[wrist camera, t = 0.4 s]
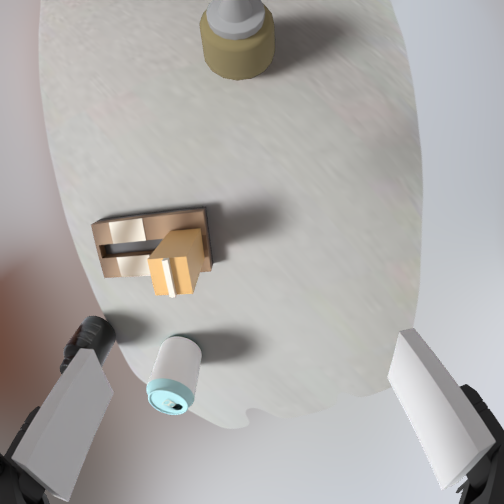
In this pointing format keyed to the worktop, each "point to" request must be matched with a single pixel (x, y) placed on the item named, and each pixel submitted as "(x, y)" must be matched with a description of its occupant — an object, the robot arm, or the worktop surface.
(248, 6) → the squeeze bottle
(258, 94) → the worktop surface
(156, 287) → the fader tab
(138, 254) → the console
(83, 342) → the supplement bottle
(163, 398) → the can
